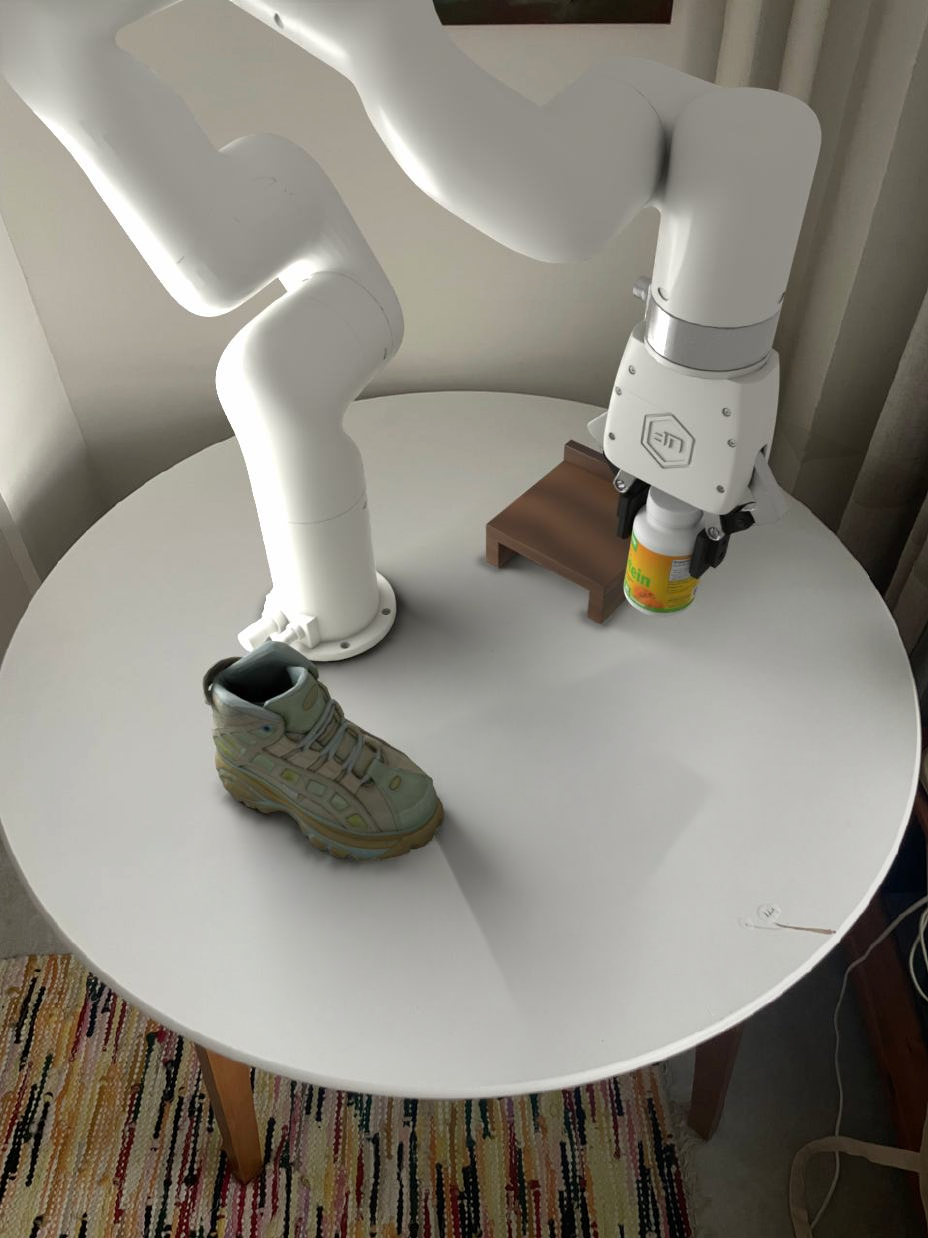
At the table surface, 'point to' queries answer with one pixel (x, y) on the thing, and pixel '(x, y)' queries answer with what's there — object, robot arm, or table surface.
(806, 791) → the table surface
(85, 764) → the table surface
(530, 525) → the shelf
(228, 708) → the sneaker
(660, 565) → the supplement bottle
